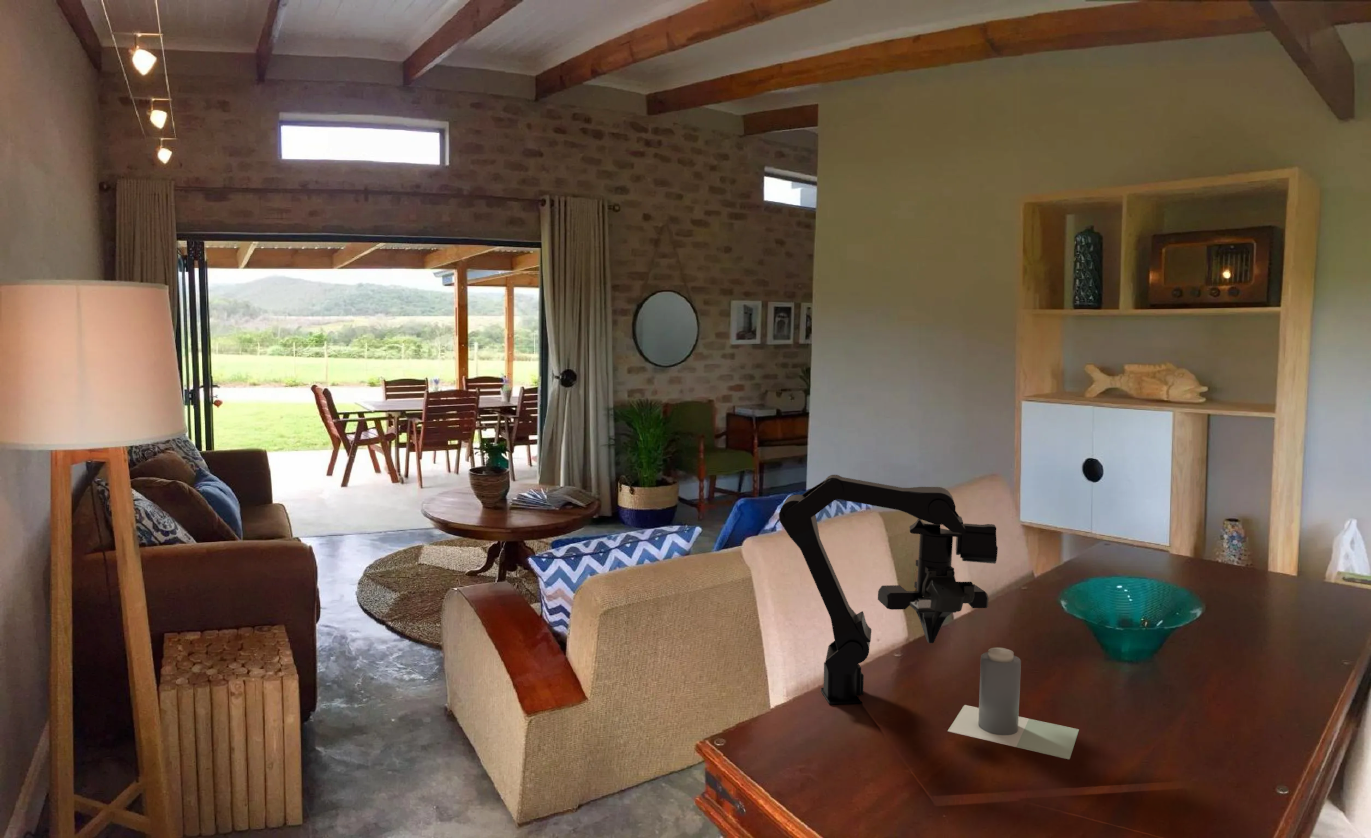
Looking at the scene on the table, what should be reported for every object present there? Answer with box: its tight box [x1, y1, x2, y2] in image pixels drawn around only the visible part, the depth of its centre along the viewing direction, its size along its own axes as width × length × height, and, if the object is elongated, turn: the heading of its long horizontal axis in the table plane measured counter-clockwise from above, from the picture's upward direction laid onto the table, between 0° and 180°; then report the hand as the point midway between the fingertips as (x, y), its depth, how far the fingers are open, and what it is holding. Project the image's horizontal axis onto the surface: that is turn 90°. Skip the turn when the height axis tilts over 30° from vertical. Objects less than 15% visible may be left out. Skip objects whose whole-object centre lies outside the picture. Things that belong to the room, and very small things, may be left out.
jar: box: [978, 647, 1022, 735], centre depth 150 cm, size 6×6×13 cm
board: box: [947, 704, 1080, 760], centre depth 149 cm, size 19×12×1 cm, turn 59°
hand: (930, 642), depth 160 cm, fingers closed
